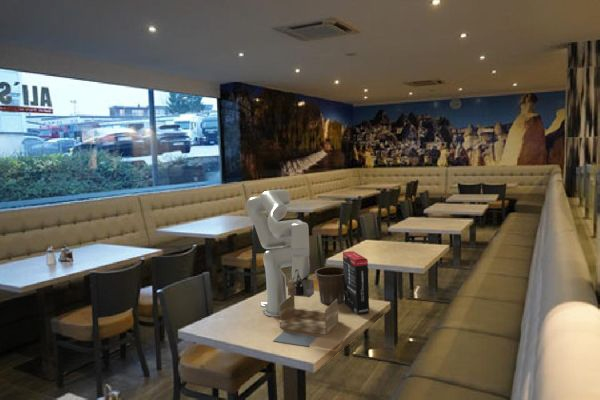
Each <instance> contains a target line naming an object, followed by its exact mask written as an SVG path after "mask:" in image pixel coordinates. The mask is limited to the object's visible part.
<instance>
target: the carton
mask: <svg viewBox="0 0 600 400" xmlns="http://www.w3.org/2000/svg"><path fill="white" fill-rule="evenodd" d="M295 304H296V303H295V296H290V295H289V297H287V299H286V300H285V301H284V302H282V303H281V304H280V305H279V311H280V316H279V320H278V323H279V328H280V329H285V330H292V331H298V332H299V331H301V332H305V333H312V334H313V333H314V334H321V335H328V334H329V333H330V332H331V330H333V328H334V327H335V326H337V324H338V322H339V314H340V312H339V304H338V299H336V300H335V301H334V302H333V303H332V304H331V305H328V307H327V308H326V309H325V310H318V309H312V308H311V309H310V308H302V307H296V305H295Z"/></svg>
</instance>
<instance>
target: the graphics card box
mask: <svg viewBox="0 0 600 400" xmlns="http://www.w3.org/2000/svg"><path fill="white" fill-rule="evenodd" d="M368 264H369V261H368V259H367V258H366V257H364V256H362V255H361V254H359V253H357V252H356V251H353V250H352V251H350V250H349V251H342V268H343V273H344V305H346V306H347V307H348V308H349V309H350V310H351V311H352V312H353V313H354V314H355V315H357V316H358V315H359V316H360V315H367V314H370V299H369V298H370V294H369V290H370V289H369V265H368Z"/></svg>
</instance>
